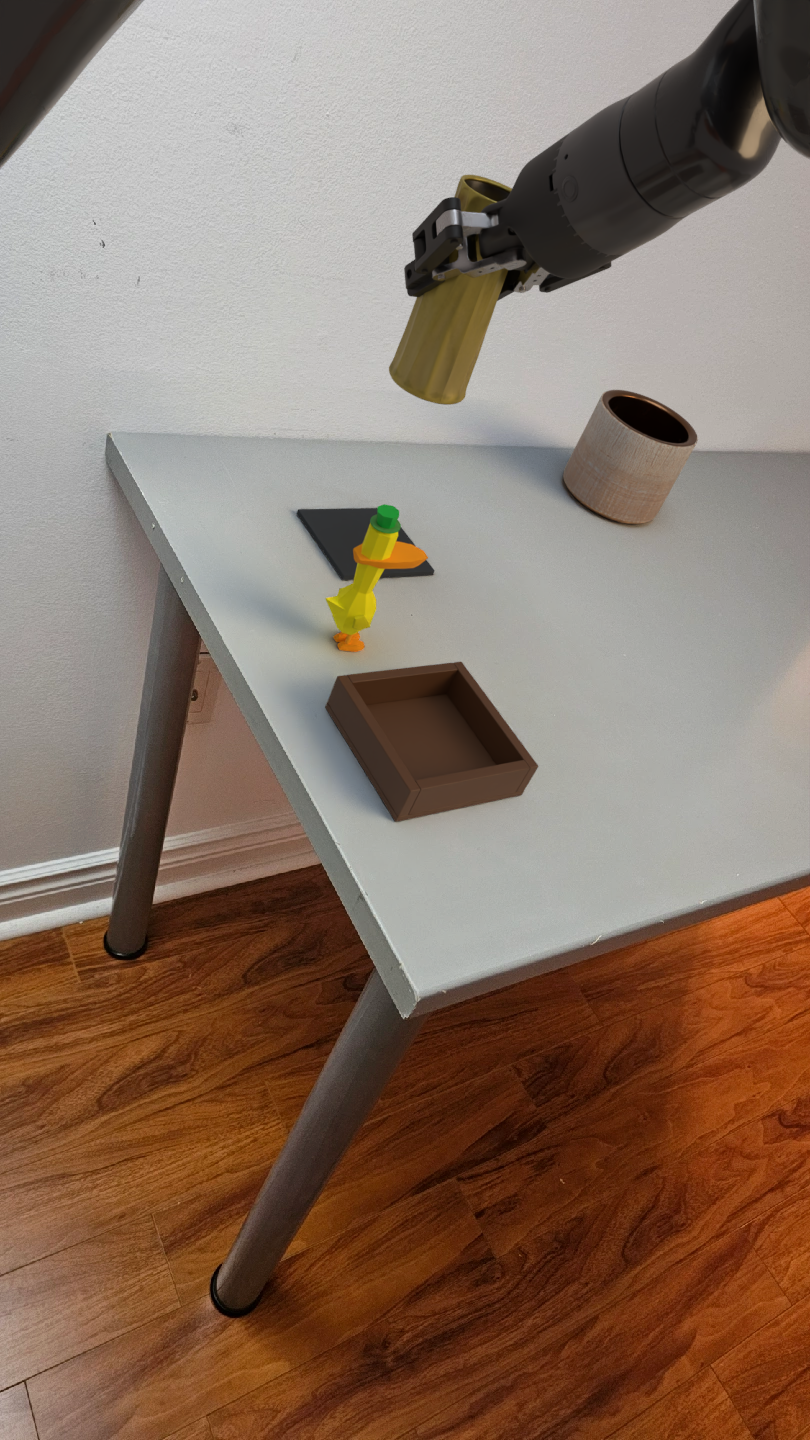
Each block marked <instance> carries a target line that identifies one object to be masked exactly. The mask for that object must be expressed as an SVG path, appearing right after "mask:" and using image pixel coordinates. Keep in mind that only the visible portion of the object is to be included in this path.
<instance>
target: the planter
mask: <svg viewBox="0 0 810 1440" xmlns="http://www.w3.org/2000/svg"><path fill="white" fill-rule="evenodd" d="M581 433H582V434H581V435H580V437H579V439H578V441H577V443H576V445H575V446H574V449H573V451H572V453H571V454H570V457H569V459H568V461H567V462H566V465H565V467H564V470H563V473H562V478H563V481H564V484H565V486H566V488H567V490H569V492H570V494H571V495H572V496H573V498H575V499H576V500H577V501H578V502H579V503H580V504H581V505H582V506H584V507H585V508H587V509H588V510H590V511H592V512H593V513H594V514H596V515H598V516H600V517H603V518H605V519H607V520H610V521H613V522H617V523H620V524H628V525H641V524H646V523H650V522H652V521H653V520H654V519H655V518H656V517H657V515H658V514H659V513H660V511H661V508H662V507H663V505H664V503H665V502H666V500H667V498H668V497H669V494H670V492H671V491H672V489H673V487H674V485H675V483H676V481H677V479H678V477H679V476H680V474H681V472H682V470H683V468H684V467H685V465H686V463H687V462H688V460H689V458H690V456H691V454H692V453H693V451H694V449H695V447H696V445H697V444H698V440H699V438H698V434H697V432H696V430H695V429H694V427H693V426H692V425H691V424H690V423H689V421H688V420H687V419H685V418H684V417H683V416H682V415H681V414H679V413H678V412H676V411H675V410H674V409H672V408H670V407H669V406H668V405H665V404H664V403H662V402H660V401H657V400H656V399H653V398H652V397H649V396H646V395H644V394H641V393H638V392H635V391H629V390H625V389H610V390H606V391H604V392H603V393H602V394H601V395H600V397H599V400H598V401H597V403H596V405H595V407H594V409H593V411H592V413H591V416H590V418H589V419H588V422H587V423H586V425H585V427H584V429H583V431H582V432H581Z"/></svg>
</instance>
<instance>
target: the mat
mask: <svg viewBox="0 0 810 1440" xmlns="http://www.w3.org/2000/svg"><path fill="white" fill-rule="evenodd" d="M377 512H378V507H353V508H350V507H348V508H298V509H297V511H296V515H297V517H298V518H299V519H300V521H301V522H302V524H303V525H304V527H305V528H306V530H307V531H308V533H309V534H310V535H311V537H312V538H313V540H314V542H315V543H316V545H317V546H318V547H319V549H320V550H321V552H322V553H323V554H324V556H325V557H326V559H327V560H328V561H329V563H330V565H331V566H332V568H334V570H335V572H336V573H337V574H338V576H339V578H340V579H341V580H342V581H354V577H355V572H356V567H357V562H355V560H354V555H353V549H354V548H355V547H357V546H359V545H361V544H362V543H363V541H364V539H365V536H366V533H367V530H368V528H369V525H370V520H371V517H372V516H374V515H376V514H377ZM396 541H398V542H403V543H408V544H412V545H414V546H416V544H415V543H414V541H413V540H412V539H411V538H410V537H409V535H408V534H407V532H406V531H405V530H404V528H403V527H402V526H401V528H400V530H399V531H398V537H397V540H396ZM435 571H436V570H435V569H434V568H433V566H432V565H431V563H430V562H429V561H428V559H426V560H425V561H424V562H423V563H421V564H420V565H419V566H417V567H415V568H407V569H384V571H383V573H382V574H381V576H380V578H379V579H388V578H389V579H390V578H406V577H424V576H425V577H426V576H434V573H435Z"/></svg>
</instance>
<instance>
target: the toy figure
mask: <svg viewBox="0 0 810 1440" xmlns="http://www.w3.org/2000/svg"><path fill="white" fill-rule="evenodd" d="M377 508H378V512H377V514H376V515H374V516H372V517H371V520H370V525H369V528H368V530H367V533H366V536H365V539H364V541H363V543H362V544H361V545H359V546H357V547H355V548H354V549H353V555H354V560H355V562H357V567H356V572H355V577H354V580H352V581H353V582H352V583H350V584H348V585H346V586H344V587H340V588H339V590H338V592H337V595H334V596H329V597H325V598H324V599H325V602H326V603H327V606H328V608H329V610H330V613H331V616H332V619H333V621H334V623H335V626H336V628H337V629H338V630H339V632H338V633H336V634H334V635H333V640H334V641H335V643H337V648H338V650H339V651H345V652H352V653H357V652H361V651H363V650H364V649H365V647H366V646H365V642H364V641H362V640H361V639H360V638H361V635H360V633H359V632H361V631H363V630H365V629H369V628H371V625H372V621H373V619H374V617H375V614H376V611H377V598H376V595H375V593H374V591H373V590H374V588H375V587H376V585H377V584H378V582H379V580H380V579H381V578H380V576H381V574H382V573H383V571H384V569H407V568H415V567H417V566H419V565H420V564H421V563H423V562H424V561H425V560H428V559H429V556H428V555H427V553H426V552H425V550H423V549H422V548H420V547H418V546H417V545H415V546H414V545H412V544H408V543H403V542H398V541H396V540H397V537H398V531H399V530H400V528H401V527H402V525H401V521H399V517H400V510H399V509H398V508H397V507H395V506H394V505H390V504H385V503H383V504H381V505H379V506H377Z"/></svg>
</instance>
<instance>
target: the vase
mask: <svg viewBox="0 0 810 1440" xmlns="http://www.w3.org/2000/svg"><path fill="white" fill-rule="evenodd" d="M512 188H513V187H510V186H508V185H505V184H504V183H501V182H499V181H496V180H494V179H491V178H488V177H485V176H481V175H476V174H463V175H461V177H460V178H459V181H458V184H457V187H456V190H455V194H454V196H453V197H456V198H459V199H460V201H461V211H465V212H477V213H481V211H482V210H483V209H484V208H485V207H486V206H488V205H490V204H493V203H496V202H499V201H502V200H504V199H506V198H507V197H508V196H509V194H510V192H511V190H512ZM478 235H479V234H477V235H476V250H477V261H479V260H482V257H481V255H480V249H479V237H478ZM457 259H458V250H457V249H455V250H454V251H453V252H452V253H451V254H450V255H449V262H450V263H452V262H455V261H457ZM507 272H508V270H507V269H506V268H503V269H500V270H497V271H494V272H491V273H488V274H485V275H482V276H479V277H476V278H471V277H469V276H467V275H465V274H461V275H458V276H455V277H452V278H449V279H446V280H445V281H444V282H443V283H441V284H440V285H438V286H436V287H435V288H433V289H432V290H430V291H428V292H426V293H424V295H422V296H420V297H415V298H416V299H415V301H414V303H413V305H412V309H411V312H410V315H409V317H408V320H407V322H406V326H405V328H404V331H403V334H402V336H401V338H400V340H399V343H398V346H397V348H396V351H395V353H394V357H393V359H392V360H391V362H390V364H389V366H388V373H389V376H390V378H391V379H392V381H393V382H394V383H395V384H396V385H397V386H398V387H399V388H400V389H402V390H403V391H404V392H406V393H408V394H410V395H412V396H414V397H415V398H418V399H420V400H423V401H426V402H429V403H433V404H438V405H446V406H447V405H457V404H459V403H461V402H463V401H464V399H465V398H466V395H467V388H468V386H469V383H470V380H471V378H472V374H473V371H474V369H475V366H476V363H477V361H478V359H479V356H480V352H481V351H482V347H483V344H484V340H485V337H486V334H487V332H488V329H489V326H490V323H491V320H492V317H493V314H494V312H495V308H496V305H497V303H498V301H499V300H498V297H499V294H500V292H501V289H502V286H503V284H504V281H505V278H506V275H507ZM497 300H498V301H497Z"/></svg>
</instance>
